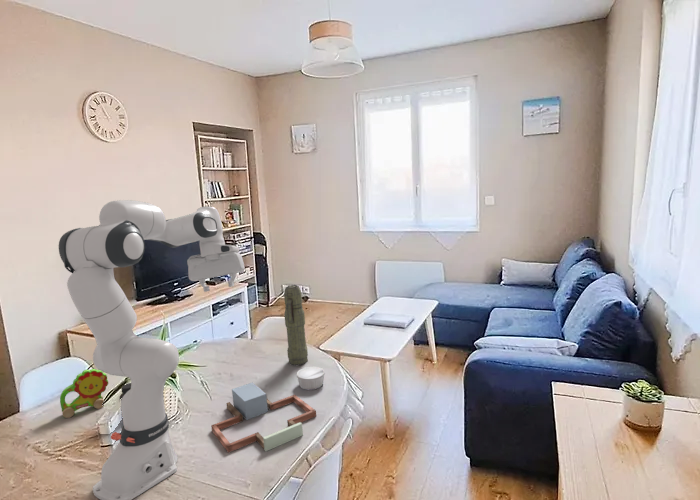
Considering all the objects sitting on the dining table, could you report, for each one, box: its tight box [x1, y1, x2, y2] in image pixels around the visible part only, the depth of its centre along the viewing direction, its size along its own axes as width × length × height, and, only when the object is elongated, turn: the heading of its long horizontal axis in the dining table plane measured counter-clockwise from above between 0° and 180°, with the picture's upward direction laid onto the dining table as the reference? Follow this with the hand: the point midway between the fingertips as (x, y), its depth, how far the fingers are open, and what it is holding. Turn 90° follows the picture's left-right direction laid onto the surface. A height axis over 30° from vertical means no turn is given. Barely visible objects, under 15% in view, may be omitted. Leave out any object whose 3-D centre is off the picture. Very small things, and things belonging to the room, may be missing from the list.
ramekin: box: [296, 366, 326, 391], centre depth 172 cm, size 11×11×5 cm
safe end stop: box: [262, 422, 304, 452], centre depth 135 cm, size 1×13×4 cm, turn 125°
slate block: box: [231, 381, 269, 421], centre depth 156 cm, size 12×8×7 cm, turn 36°
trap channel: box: [211, 394, 317, 454], centre depth 148 cm, size 32×31×2 cm
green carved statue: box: [283, 284, 309, 366], centre depth 193 cm, size 9×12×35 cm
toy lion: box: [59, 368, 109, 419], centre depth 162 cm, size 16×5×15 cm, turn 126°
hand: (219, 289), depth 156 cm, fingers open, 8 cm apart
